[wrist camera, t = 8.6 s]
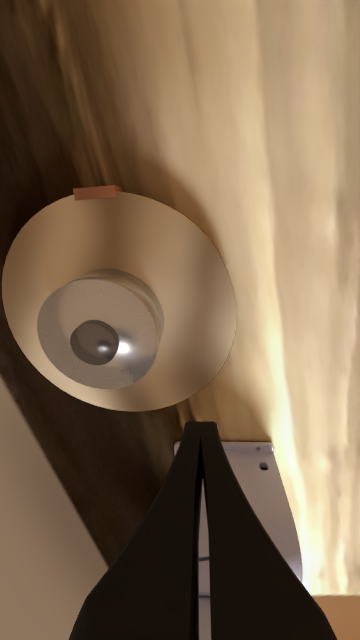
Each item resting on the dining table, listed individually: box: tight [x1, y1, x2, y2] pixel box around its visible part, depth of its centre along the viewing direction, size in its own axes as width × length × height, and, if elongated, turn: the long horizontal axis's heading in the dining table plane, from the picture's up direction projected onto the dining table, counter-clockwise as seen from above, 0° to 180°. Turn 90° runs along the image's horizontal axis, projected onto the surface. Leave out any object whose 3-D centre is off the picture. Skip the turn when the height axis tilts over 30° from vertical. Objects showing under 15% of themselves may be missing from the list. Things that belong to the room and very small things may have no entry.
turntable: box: [2, 185, 237, 411], centre depth 18 cm, size 16×16×2 cm
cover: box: [37, 268, 164, 389], centre depth 16 cm, size 7×7×4 cm
